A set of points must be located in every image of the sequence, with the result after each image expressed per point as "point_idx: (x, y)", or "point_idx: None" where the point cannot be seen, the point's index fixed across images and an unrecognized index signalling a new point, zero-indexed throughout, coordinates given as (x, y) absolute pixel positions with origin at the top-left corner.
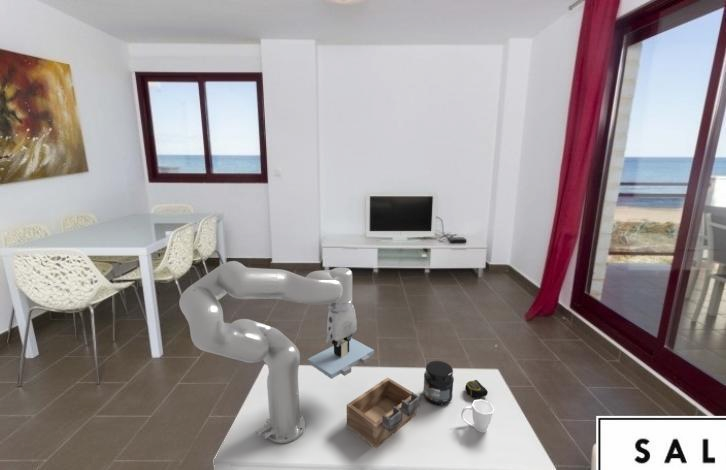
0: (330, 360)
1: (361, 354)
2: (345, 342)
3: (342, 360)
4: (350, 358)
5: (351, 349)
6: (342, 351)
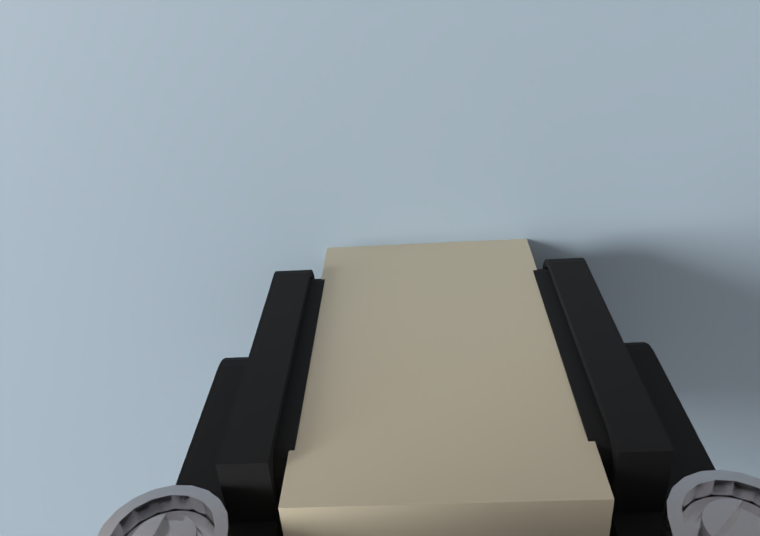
0: (753, 312)
1: (45, 22)
2: (383, 508)
3: (584, 145)
4: (387, 77)
5: (148, 324)
6: (509, 322)
